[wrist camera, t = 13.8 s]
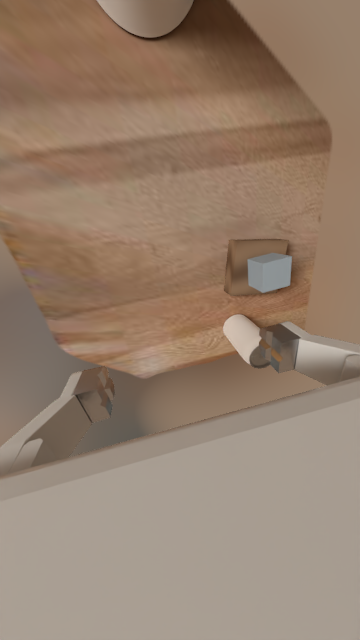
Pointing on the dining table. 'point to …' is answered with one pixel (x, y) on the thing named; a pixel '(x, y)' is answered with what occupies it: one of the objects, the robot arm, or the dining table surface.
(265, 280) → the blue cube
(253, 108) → the dining table surface
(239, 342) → the can
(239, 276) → the walnut block
